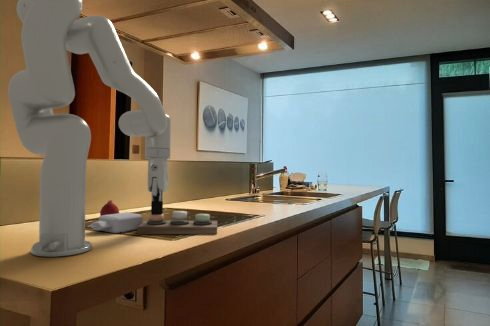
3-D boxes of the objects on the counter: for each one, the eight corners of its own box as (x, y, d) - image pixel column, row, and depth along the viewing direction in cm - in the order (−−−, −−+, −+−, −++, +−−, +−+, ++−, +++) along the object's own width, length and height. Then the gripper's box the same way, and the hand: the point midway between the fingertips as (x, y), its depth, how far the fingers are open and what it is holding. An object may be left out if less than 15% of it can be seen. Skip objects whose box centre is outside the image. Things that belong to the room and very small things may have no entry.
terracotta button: (162, 221, 110) (162, 215, 110) (147, 221, 110) (147, 215, 110) (164, 219, 114) (165, 213, 114) (150, 219, 114) (150, 213, 114)
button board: (216, 234, 107) (217, 224, 107) (136, 233, 106) (137, 224, 106) (217, 226, 119) (217, 218, 119) (145, 226, 118) (145, 218, 118)
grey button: (186, 218, 110) (186, 212, 110) (171, 218, 110) (171, 212, 110) (187, 216, 115) (187, 211, 115) (173, 216, 114) (173, 210, 114)
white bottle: (80, 233, 106) (123, 226, 119) (98, 237, 101) (142, 230, 113) (80, 217, 106) (124, 211, 119) (98, 220, 101) (142, 214, 113)
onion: (112, 226, 117) (112, 201, 117) (96, 225, 119) (96, 200, 119) (122, 223, 123) (122, 199, 123) (106, 222, 124) (106, 198, 124)
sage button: (209, 221, 111) (209, 215, 111) (194, 221, 111) (194, 215, 111) (209, 219, 115) (210, 213, 115) (195, 219, 115) (195, 213, 115)
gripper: (166, 154, 105) (165, 218, 105) (173, 155, 120) (172, 211, 120) (139, 153, 104) (139, 218, 104) (150, 154, 119) (149, 211, 119)
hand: (157, 214), depth 112 cm, fingers closed
